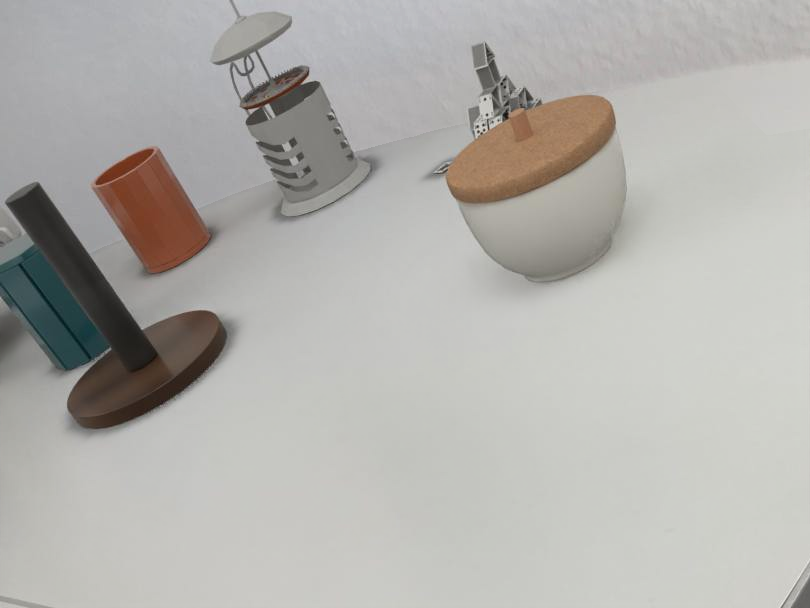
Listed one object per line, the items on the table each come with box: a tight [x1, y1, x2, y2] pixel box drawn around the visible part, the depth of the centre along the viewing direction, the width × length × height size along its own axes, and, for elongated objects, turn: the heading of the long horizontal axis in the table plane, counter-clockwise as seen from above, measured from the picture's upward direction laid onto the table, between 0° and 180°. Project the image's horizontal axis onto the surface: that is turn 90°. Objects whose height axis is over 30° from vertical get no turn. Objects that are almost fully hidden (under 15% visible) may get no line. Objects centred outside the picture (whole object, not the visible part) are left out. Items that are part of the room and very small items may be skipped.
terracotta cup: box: [90, 145, 212, 274], centre depth 97 cm, size 7×7×9 cm
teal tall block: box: [0, 232, 110, 372], centre depth 87 cm, size 6×6×10 cm
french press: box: [209, 0, 371, 217], centre depth 88 cm, size 10×12×25 cm
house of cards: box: [433, 40, 543, 174], centre depth 83 cm, size 9×9×8 cm
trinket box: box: [445, 94, 628, 284], centre depth 62 cm, size 11×11×9 cm
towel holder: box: [4, 181, 228, 430], centre depth 75 cm, size 14×14×15 cm
